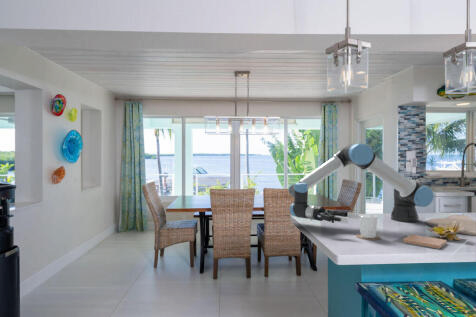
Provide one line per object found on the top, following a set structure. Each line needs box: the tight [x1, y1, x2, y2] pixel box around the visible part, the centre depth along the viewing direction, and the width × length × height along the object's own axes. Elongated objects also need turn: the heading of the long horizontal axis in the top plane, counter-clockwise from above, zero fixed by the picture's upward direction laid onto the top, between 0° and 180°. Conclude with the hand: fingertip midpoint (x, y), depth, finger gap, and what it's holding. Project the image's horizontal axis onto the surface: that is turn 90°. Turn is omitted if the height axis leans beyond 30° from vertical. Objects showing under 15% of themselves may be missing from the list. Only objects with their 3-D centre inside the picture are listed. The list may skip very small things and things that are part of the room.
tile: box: [403, 234, 448, 250], centre depth 139 cm, size 12×2×14 cm
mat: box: [392, 235, 436, 250], centre depth 141 cm, size 16×17×1 cm
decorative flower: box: [426, 220, 465, 242], centre depth 149 cm, size 15×11×10 cm
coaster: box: [355, 233, 382, 241], centre depth 150 cm, size 11×11×1 cm
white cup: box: [359, 213, 378, 238], centre depth 150 cm, size 8×8×10 cm
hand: (354, 218), depth 155 cm, fingers open, 13 cm apart
